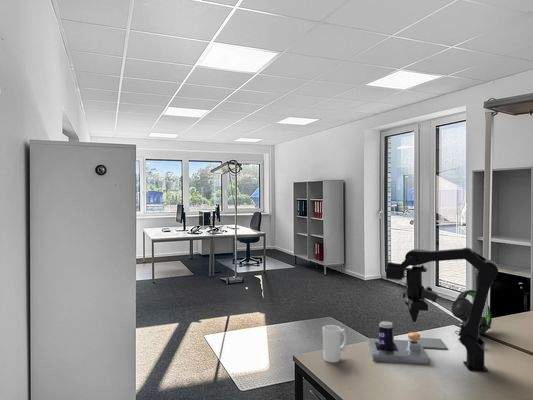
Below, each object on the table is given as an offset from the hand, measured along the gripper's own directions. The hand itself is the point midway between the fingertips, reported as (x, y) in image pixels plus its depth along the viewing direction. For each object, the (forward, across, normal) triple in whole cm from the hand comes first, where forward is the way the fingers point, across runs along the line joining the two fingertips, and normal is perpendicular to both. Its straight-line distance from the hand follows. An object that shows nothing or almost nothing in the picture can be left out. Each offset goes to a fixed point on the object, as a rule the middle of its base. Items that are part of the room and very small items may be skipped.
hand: (414, 321), depth 147 cm
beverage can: (+13, 0, +10) cm, 17 cm away
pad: (+13, +12, -10) cm, 20 cm away
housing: (+13, 0, +6) cm, 15 cm away
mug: (+13, -8, +30) cm, 34 cm away
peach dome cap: (+8, 0, 0) cm, 8 cm away
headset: (+13, +25, -31) cm, 42 cm away
